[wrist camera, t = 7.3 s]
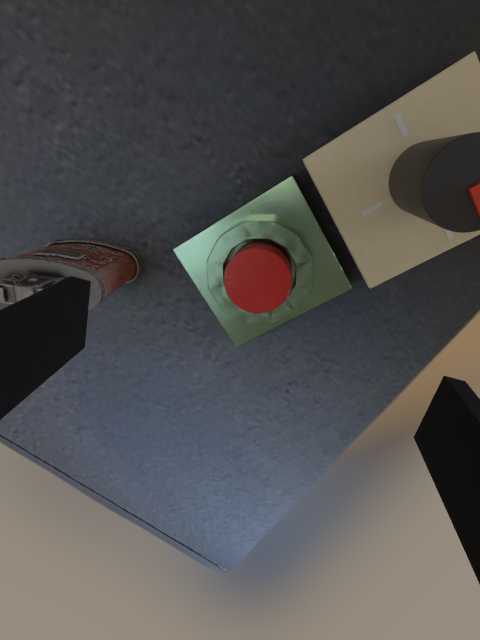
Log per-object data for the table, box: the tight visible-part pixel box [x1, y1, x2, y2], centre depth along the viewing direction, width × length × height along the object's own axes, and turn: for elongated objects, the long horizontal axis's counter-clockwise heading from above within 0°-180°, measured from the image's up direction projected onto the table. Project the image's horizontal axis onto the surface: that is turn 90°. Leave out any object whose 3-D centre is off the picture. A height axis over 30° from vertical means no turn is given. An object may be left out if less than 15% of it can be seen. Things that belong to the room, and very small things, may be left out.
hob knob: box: [389, 132, 480, 233], centre depth 22 cm, size 4×4×8 cm
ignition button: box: [224, 242, 292, 313], centre depth 27 cm, size 4×4×2 cm
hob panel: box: [302, 51, 480, 288], centre depth 27 cm, size 11×10×3 cm
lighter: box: [0, 239, 142, 310], centre depth 28 cm, size 8×3×10 cm, turn 85°
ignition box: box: [173, 174, 352, 347], centre depth 29 cm, size 10×9×4 cm
